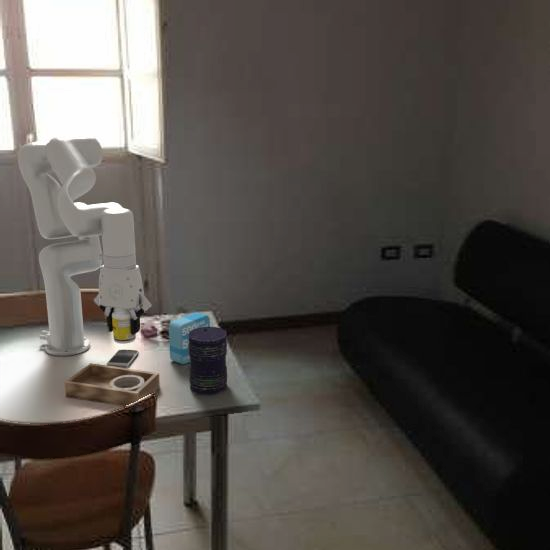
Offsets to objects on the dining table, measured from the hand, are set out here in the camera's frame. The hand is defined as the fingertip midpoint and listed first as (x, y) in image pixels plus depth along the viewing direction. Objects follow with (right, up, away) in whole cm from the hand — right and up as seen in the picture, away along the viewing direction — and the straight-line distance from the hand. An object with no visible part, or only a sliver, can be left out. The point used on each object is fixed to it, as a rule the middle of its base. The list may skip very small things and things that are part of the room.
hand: (124, 330), depth 162 cm
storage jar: (+20, -16, +9) cm, 27 cm away
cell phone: (-6, -11, +25) cm, 28 cm away
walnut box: (-4, -16, +6) cm, 18 cm away
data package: (+13, -10, +27) cm, 32 cm away
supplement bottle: (0, -3, +1) cm, 3 cm away
